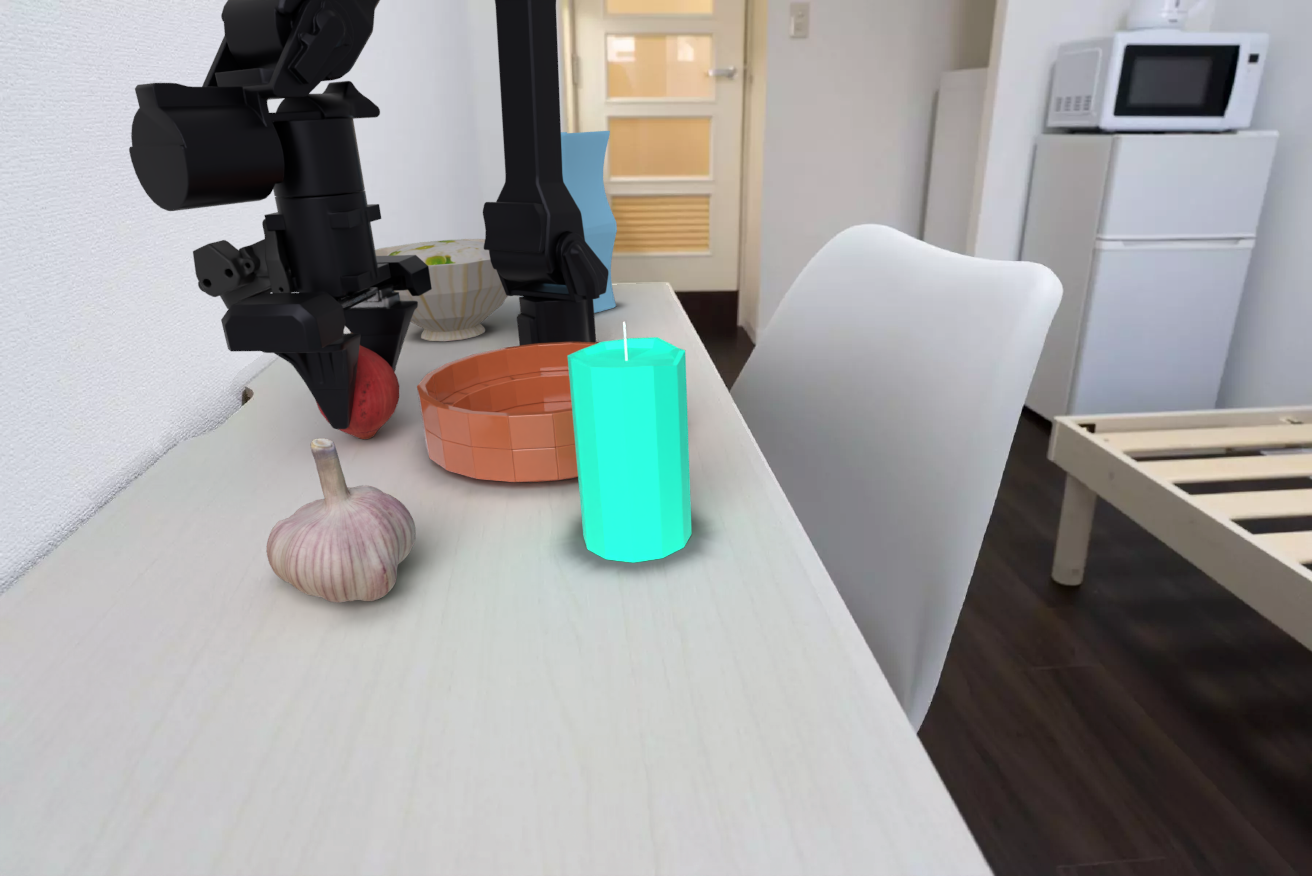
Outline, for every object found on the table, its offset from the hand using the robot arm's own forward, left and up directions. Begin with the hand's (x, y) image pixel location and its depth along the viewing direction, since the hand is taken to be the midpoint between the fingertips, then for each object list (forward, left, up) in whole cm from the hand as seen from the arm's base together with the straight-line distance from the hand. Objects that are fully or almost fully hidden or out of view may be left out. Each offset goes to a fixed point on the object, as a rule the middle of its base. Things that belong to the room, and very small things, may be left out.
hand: (361, 413), depth 61 cm
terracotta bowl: (-10, +10, -2) cm, 14 cm away
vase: (-35, -26, -2) cm, 44 cm away
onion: (0, 0, -2) cm, 2 cm away
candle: (-6, +26, -2) cm, 27 cm away
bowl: (-19, -26, -2) cm, 32 cm away
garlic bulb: (+8, +20, -2) cm, 22 cm away
